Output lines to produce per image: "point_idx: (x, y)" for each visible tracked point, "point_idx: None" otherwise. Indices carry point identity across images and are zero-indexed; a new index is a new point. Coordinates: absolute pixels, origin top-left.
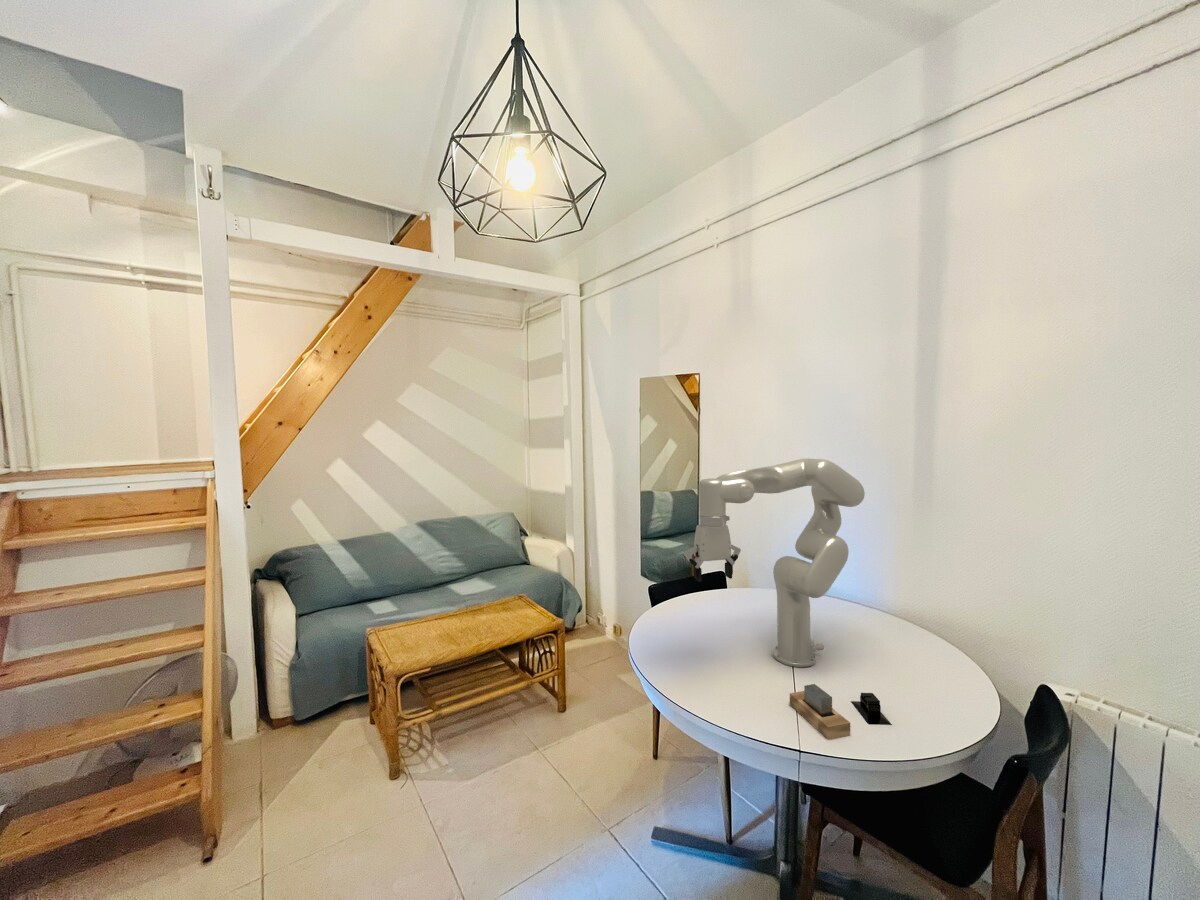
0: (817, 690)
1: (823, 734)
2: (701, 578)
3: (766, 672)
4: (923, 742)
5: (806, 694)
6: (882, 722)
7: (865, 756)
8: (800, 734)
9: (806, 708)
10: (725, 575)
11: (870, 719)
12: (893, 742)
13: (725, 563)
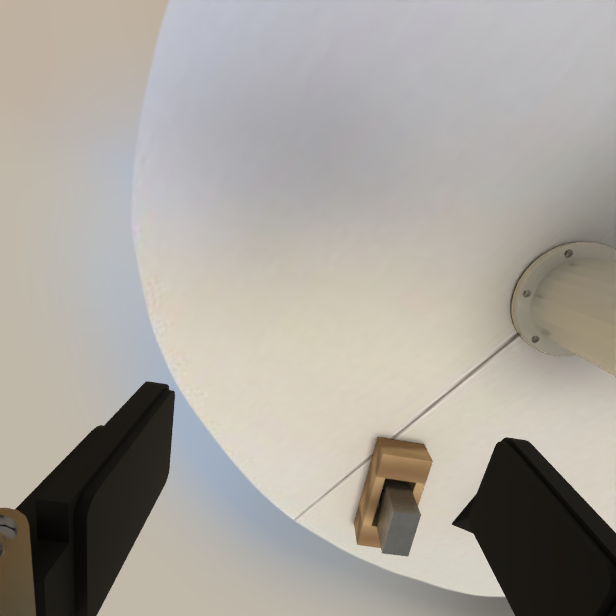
0: (402, 532)
1: (356, 517)
2: (153, 502)
3: (437, 325)
4: (480, 575)
5: (388, 503)
6: None
7: (372, 562)
8: (323, 499)
9: (369, 497)
10: (497, 451)
11: (467, 520)
12: (440, 560)
13: (610, 593)
